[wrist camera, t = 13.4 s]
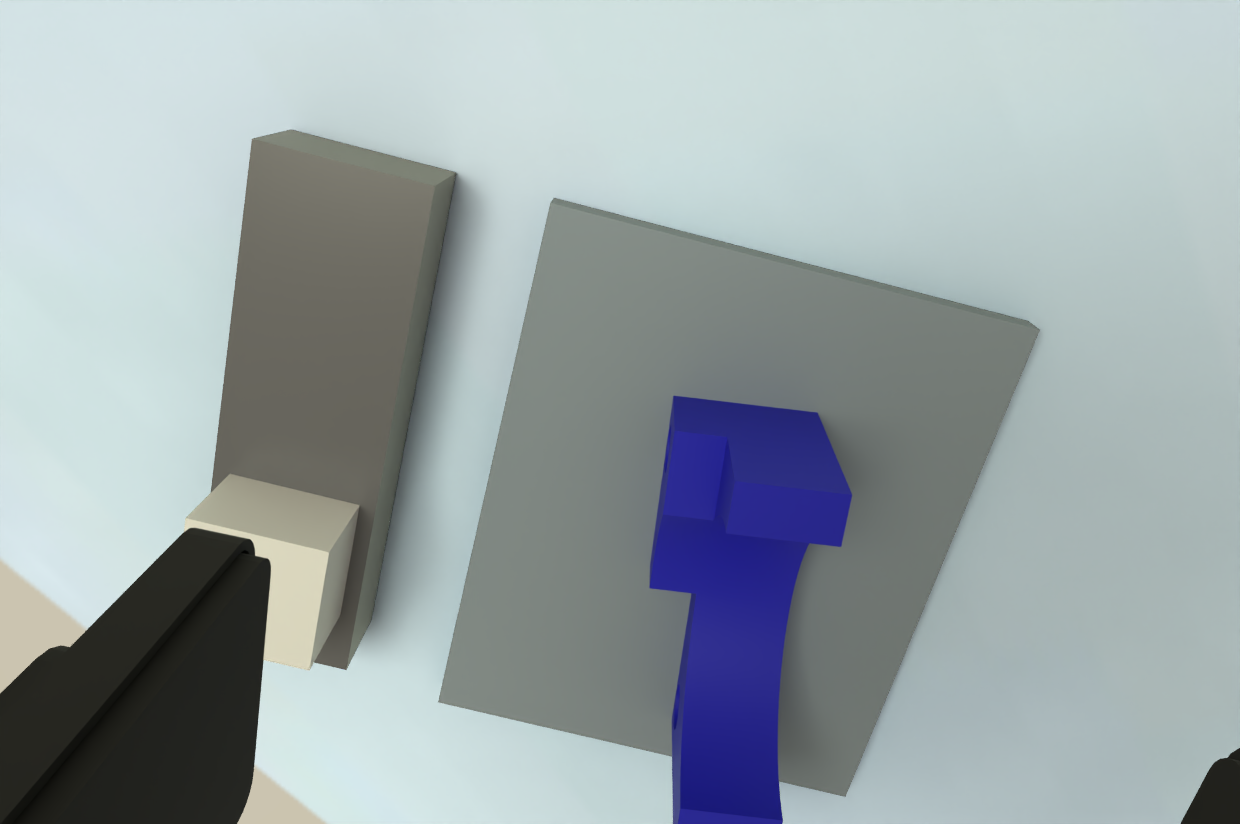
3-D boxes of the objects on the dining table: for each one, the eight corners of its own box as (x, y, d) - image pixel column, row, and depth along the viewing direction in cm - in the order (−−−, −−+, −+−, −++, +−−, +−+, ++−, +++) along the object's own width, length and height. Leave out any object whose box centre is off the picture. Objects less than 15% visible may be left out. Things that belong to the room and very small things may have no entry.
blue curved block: (673, 395, 31) (676, 474, 25) (817, 412, 31) (852, 494, 25) (629, 714, 35) (623, 842, 29) (756, 729, 35) (774, 860, 29)
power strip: (456, 172, 30) (408, 202, 24) (371, 619, 35) (316, 729, 30) (291, 129, 30) (204, 150, 24) (231, 587, 35) (149, 691, 29)
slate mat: (1028, 321, 31) (1040, 329, 30) (840, 777, 37) (845, 796, 36) (553, 197, 30) (550, 202, 29) (444, 684, 36) (438, 702, 35)
